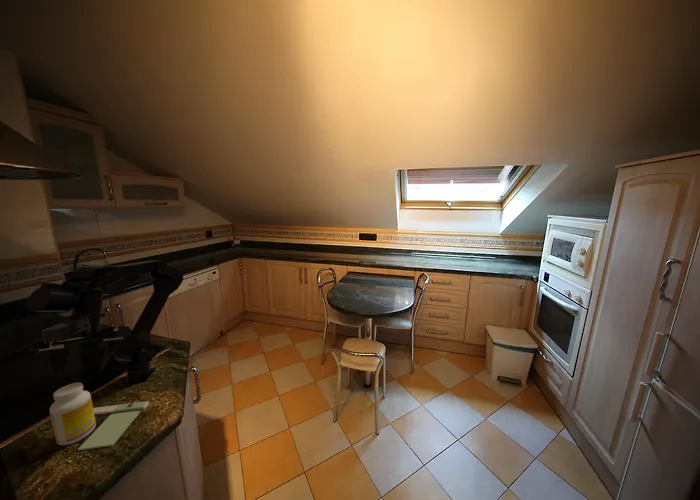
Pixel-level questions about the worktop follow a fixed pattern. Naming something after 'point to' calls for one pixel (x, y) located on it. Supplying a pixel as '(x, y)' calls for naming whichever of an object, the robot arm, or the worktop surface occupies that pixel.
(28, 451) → the worktop surface
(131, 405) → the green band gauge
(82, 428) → the supplement bottle
